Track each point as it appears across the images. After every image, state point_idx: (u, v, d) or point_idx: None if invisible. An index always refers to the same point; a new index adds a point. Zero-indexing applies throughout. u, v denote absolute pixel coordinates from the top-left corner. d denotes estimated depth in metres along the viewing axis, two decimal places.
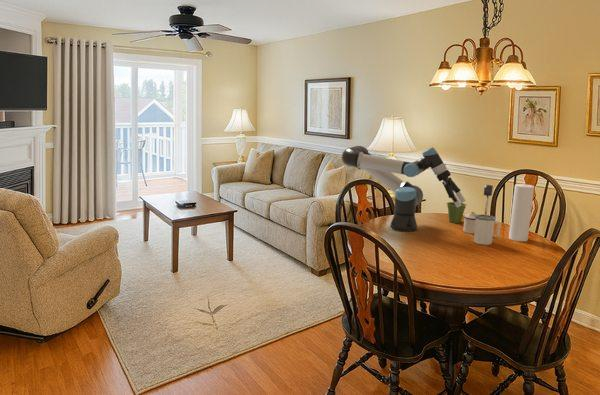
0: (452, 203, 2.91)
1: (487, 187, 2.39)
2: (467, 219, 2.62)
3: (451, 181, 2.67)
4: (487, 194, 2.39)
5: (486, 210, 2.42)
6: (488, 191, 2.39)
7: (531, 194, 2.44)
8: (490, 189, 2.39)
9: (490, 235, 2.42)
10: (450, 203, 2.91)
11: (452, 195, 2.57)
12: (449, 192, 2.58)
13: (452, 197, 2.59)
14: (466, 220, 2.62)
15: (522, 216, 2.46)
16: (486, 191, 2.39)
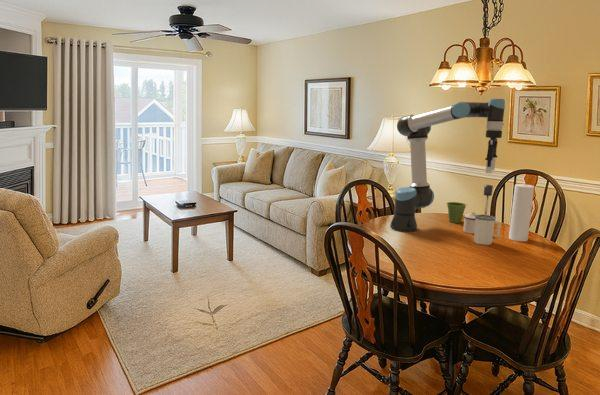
0: (452, 203, 2.91)
1: (487, 187, 2.39)
2: (467, 219, 2.62)
3: (496, 144, 2.36)
4: (487, 194, 2.39)
5: (486, 210, 2.42)
6: (488, 191, 2.39)
7: (531, 194, 2.44)
8: (490, 189, 2.39)
9: (490, 235, 2.42)
10: (450, 203, 2.91)
11: (490, 159, 2.29)
12: (489, 154, 2.29)
13: (488, 160, 2.31)
14: (466, 220, 2.62)
15: (522, 216, 2.46)
16: (486, 191, 2.39)
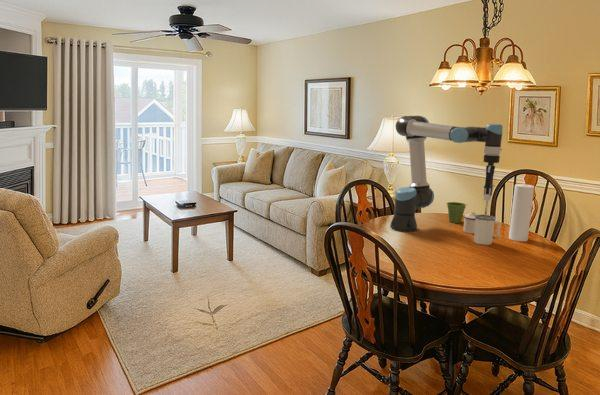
0: (452, 203, 2.91)
1: None
2: (467, 219, 2.62)
3: (494, 168, 2.38)
4: None
5: (486, 210, 2.42)
6: None
7: (531, 194, 2.44)
8: None
9: (490, 235, 2.42)
10: (450, 203, 2.91)
11: (488, 187, 2.35)
12: (487, 183, 2.35)
13: (487, 188, 2.37)
14: (466, 220, 2.62)
15: (522, 216, 2.46)
16: None
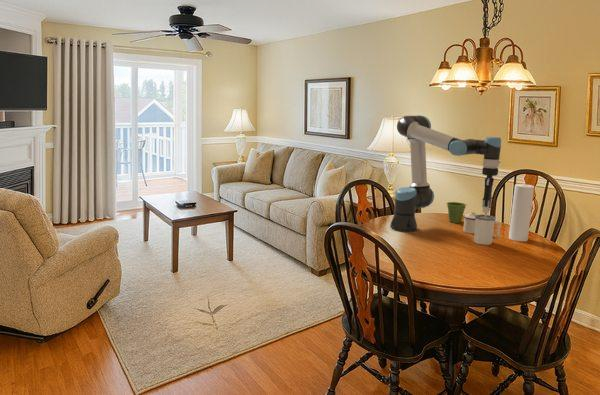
0: (452, 203, 2.91)
1: None
2: (467, 219, 2.62)
3: (492, 180, 2.40)
4: None
5: None
6: None
7: (531, 194, 2.44)
8: (489, 201, 2.40)
9: (490, 235, 2.42)
10: (450, 203, 2.91)
11: (487, 199, 2.37)
12: (486, 195, 2.36)
13: (485, 201, 2.39)
14: (466, 220, 2.62)
15: (522, 216, 2.46)
16: None
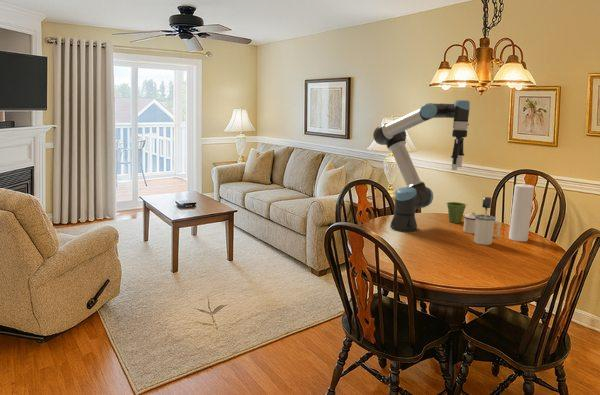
0: (452, 203, 2.91)
1: (486, 199, 2.40)
2: (467, 219, 2.62)
3: (462, 143, 2.51)
4: (486, 206, 2.41)
5: None
6: (487, 203, 2.40)
7: (531, 194, 2.44)
8: (489, 201, 2.40)
9: (490, 235, 2.42)
10: (450, 203, 2.91)
11: (455, 157, 2.44)
12: (455, 152, 2.44)
13: (454, 158, 2.46)
14: (466, 220, 2.62)
15: (522, 216, 2.46)
16: (485, 203, 2.41)
